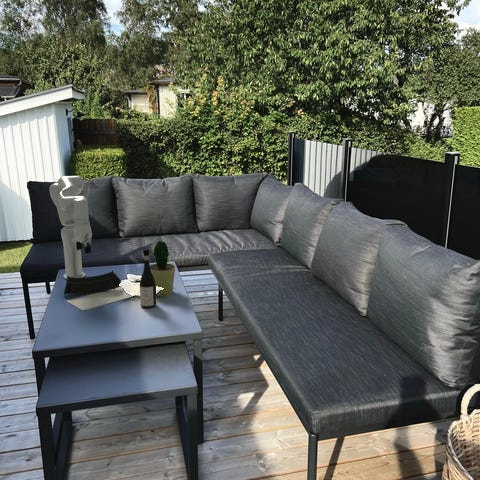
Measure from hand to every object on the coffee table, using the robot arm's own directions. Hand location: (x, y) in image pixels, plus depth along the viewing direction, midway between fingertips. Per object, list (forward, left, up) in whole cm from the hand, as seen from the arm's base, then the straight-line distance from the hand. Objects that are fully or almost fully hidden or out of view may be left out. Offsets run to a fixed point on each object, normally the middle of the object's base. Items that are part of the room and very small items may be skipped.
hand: (83, 251), depth 266 cm
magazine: (+9, 0, -22) cm, 24 cm away
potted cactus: (+34, +28, -22) cm, 49 cm away
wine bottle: (+46, +11, -22) cm, 52 cm away
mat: (+20, 0, -22) cm, 30 cm away
